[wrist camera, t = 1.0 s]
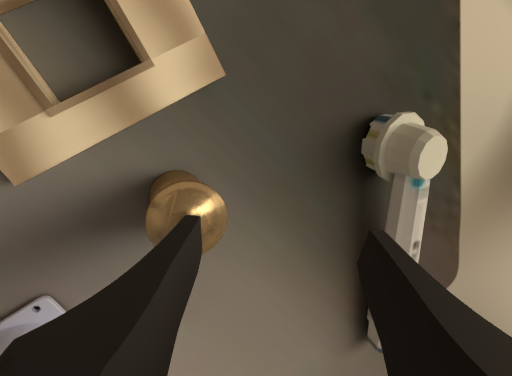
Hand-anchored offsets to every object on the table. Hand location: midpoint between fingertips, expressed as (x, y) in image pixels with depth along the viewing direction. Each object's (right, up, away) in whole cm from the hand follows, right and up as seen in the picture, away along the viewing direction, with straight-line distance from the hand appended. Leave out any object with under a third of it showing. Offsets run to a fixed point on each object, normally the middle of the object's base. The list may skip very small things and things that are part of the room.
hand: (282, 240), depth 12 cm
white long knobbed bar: (+12, -3, +18) cm, 22 cm away
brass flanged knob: (-7, +2, +9) cm, 12 cm away
